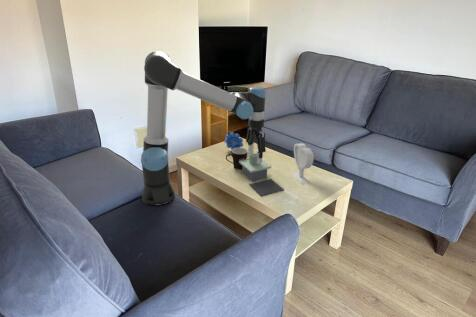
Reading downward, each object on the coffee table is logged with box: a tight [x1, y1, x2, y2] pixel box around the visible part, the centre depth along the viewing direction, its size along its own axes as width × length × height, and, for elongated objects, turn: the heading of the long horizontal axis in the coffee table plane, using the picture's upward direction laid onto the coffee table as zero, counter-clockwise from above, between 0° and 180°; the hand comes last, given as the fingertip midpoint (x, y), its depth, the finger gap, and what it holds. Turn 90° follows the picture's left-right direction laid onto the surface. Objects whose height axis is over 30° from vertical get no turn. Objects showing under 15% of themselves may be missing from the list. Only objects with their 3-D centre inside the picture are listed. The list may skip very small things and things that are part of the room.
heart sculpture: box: [291, 143, 315, 185], centre depth 178 cm, size 16×5×18 cm, turn 16°
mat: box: [248, 178, 285, 197], centre depth 172 cm, size 13×12×1 cm
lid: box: [239, 152, 272, 173], centre depth 180 cm, size 12×13×6 cm
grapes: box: [223, 132, 244, 151], centre depth 209 cm, size 12×7×12 cm, turn 92°
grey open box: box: [241, 166, 268, 183], centre depth 182 cm, size 9×11×6 cm
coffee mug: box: [225, 147, 248, 171], centre depth 190 cm, size 12×9×10 cm
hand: (254, 159), depth 180 cm, fingers open, 9 cm apart
